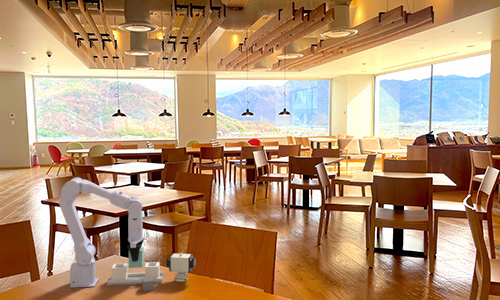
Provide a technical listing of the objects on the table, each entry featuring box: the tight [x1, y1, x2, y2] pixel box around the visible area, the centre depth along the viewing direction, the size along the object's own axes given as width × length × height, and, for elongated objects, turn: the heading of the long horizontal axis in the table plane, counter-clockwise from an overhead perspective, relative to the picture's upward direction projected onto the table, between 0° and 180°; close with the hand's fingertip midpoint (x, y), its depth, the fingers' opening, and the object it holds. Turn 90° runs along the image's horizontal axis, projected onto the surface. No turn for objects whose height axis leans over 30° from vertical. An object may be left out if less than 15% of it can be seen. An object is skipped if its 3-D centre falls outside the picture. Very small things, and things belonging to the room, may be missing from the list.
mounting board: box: [106, 261, 165, 287], centre depth 170 cm, size 22×10×7 cm, turn 98°
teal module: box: [128, 247, 145, 269], centre depth 168 cm, size 6×4×7 cm
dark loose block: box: [141, 277, 155, 292], centre depth 161 cm, size 4×4×4 cm
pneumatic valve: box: [165, 252, 197, 283], centre depth 169 cm, size 6×12×12 cm, turn 84°
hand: (136, 259), depth 169 cm, fingers closed on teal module, 4 cm apart
